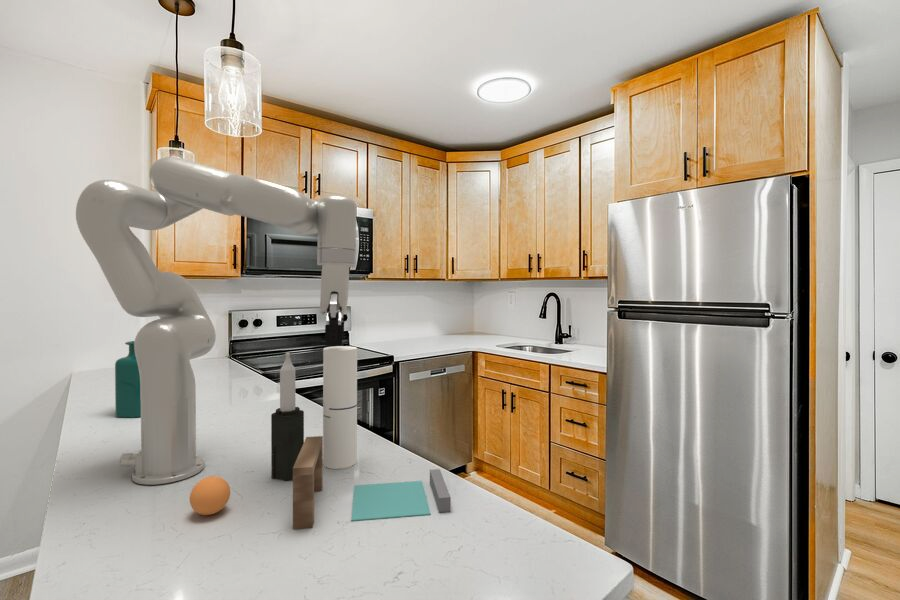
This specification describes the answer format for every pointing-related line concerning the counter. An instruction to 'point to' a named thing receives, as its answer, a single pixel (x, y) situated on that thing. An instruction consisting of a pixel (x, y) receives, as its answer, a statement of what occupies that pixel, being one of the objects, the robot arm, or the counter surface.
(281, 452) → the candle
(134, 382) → the teal green bottle
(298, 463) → the bridge
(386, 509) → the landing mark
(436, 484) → the wall
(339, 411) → the cylindrical container
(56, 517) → the counter surface
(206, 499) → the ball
